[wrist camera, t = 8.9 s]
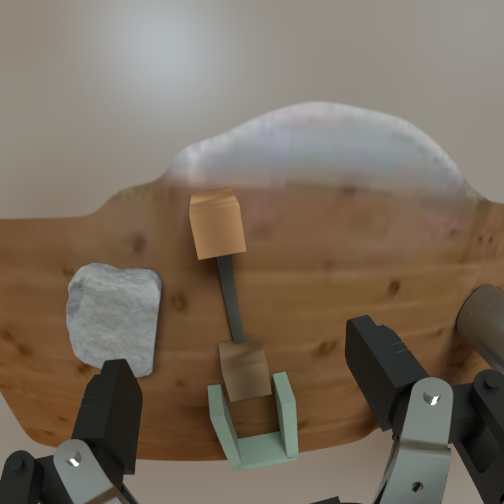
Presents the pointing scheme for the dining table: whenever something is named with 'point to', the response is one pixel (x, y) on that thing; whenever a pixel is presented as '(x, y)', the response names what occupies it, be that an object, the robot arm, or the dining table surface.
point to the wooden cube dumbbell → (229, 290)
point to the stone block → (114, 315)
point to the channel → (261, 446)
